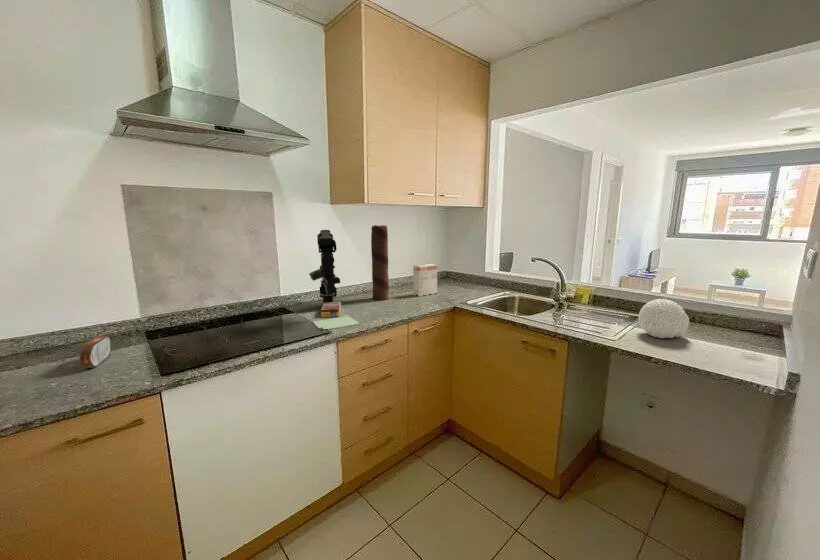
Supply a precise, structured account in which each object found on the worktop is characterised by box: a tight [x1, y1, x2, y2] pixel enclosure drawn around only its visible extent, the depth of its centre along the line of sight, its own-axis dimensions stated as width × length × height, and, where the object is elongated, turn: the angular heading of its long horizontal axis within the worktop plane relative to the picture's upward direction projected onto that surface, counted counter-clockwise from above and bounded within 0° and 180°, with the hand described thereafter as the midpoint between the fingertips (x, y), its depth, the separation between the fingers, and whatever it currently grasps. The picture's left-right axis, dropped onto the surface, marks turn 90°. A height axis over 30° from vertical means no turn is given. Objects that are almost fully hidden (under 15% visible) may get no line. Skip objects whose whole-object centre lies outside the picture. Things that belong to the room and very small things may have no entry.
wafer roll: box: [370, 224, 390, 301], centre depth 198 cm, size 10×11×45 cm
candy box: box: [320, 301, 342, 318], centre depth 170 cm, size 9×4×15 cm
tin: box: [79, 335, 112, 369], centre depth 109 cm, size 15×3×8 cm, turn 22°
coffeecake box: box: [412, 263, 438, 297], centre depth 213 cm, size 15×7×20 cm, turn 124°
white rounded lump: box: [637, 298, 690, 339], centre depth 137 cm, size 20×18×16 cm
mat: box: [312, 315, 360, 331], centre depth 153 cm, size 14×18×1 cm
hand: (328, 295), depth 160 cm, fingers closed
